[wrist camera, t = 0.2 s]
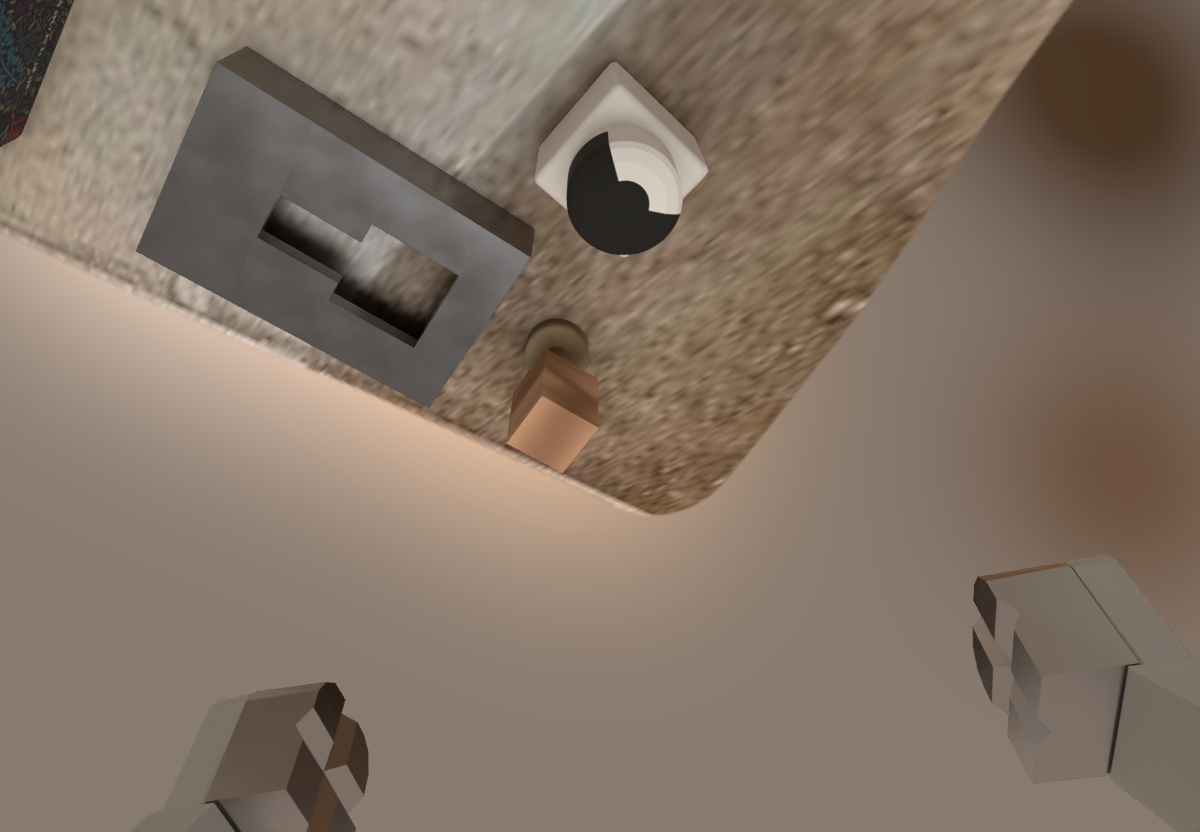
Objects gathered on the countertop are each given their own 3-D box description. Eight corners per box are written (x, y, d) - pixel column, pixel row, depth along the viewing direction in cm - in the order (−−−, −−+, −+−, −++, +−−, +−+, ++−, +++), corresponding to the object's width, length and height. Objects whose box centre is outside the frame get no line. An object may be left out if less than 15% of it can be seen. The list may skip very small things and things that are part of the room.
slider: (514, 354, 62) (502, 443, 52) (547, 307, 60) (541, 391, 50) (566, 383, 63) (563, 476, 54) (600, 339, 62) (603, 427, 52)
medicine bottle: (620, 221, 57) (628, 295, 47) (536, 147, 54) (526, 210, 44) (697, 139, 54) (724, 199, 44) (613, 58, 52) (621, 101, 42)
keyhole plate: (169, 223, 57) (135, 251, 52) (246, 46, 51) (216, 61, 47) (439, 372, 63) (428, 408, 59) (534, 229, 57) (530, 257, 53)
